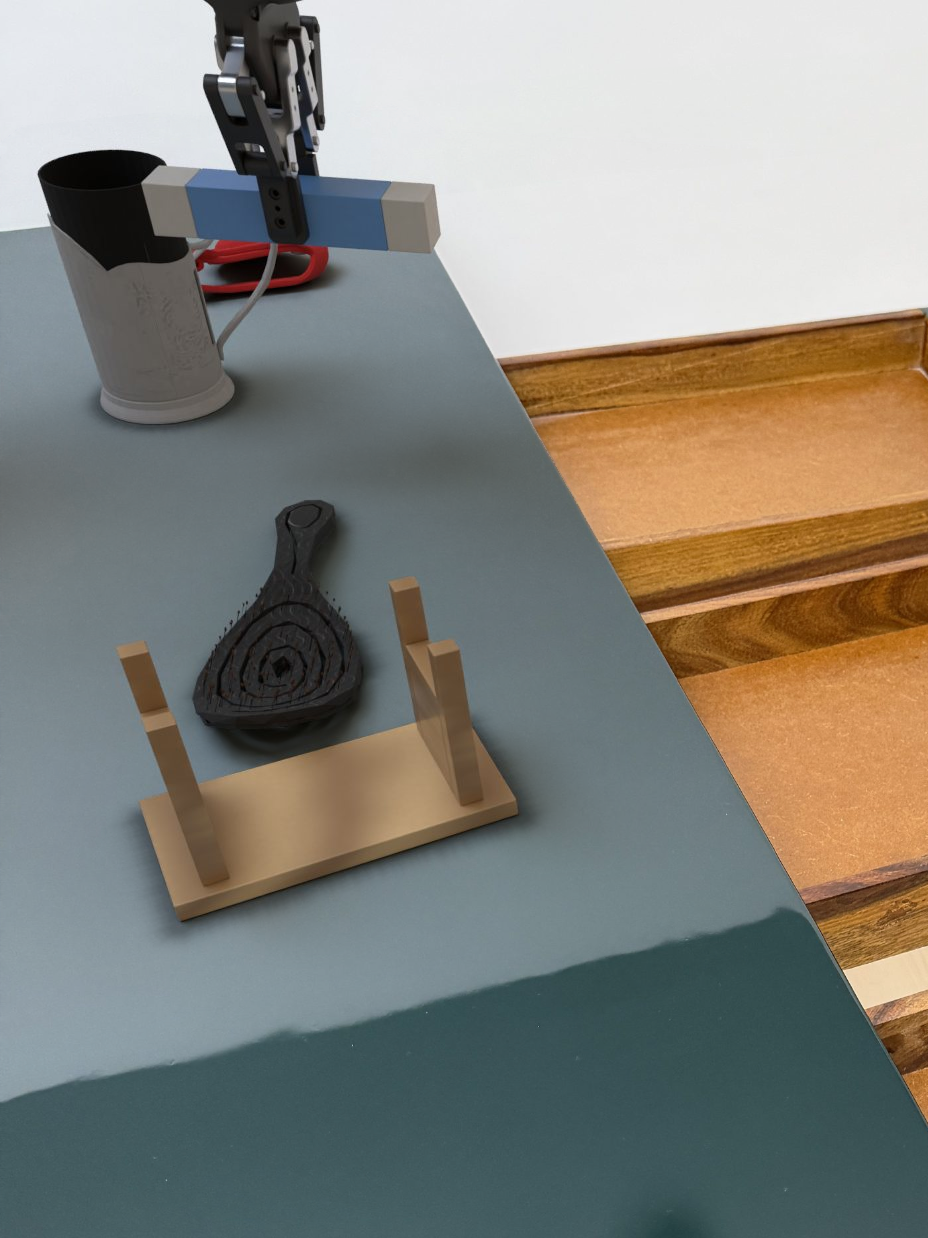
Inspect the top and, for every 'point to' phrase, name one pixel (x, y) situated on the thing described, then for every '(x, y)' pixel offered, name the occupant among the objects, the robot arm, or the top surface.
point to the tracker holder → (249, 250)
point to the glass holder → (137, 290)
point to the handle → (331, 205)
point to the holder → (320, 786)
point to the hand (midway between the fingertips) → (298, 229)
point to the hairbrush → (283, 641)
